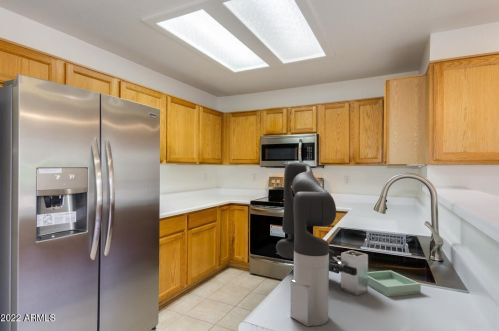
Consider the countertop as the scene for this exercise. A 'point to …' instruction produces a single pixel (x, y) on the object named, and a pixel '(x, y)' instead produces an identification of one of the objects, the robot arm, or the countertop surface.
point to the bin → (392, 283)
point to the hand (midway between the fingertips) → (361, 270)
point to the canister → (360, 280)
